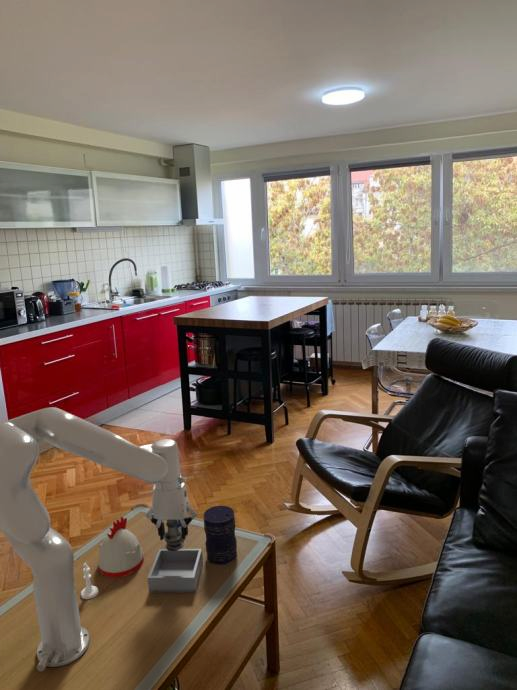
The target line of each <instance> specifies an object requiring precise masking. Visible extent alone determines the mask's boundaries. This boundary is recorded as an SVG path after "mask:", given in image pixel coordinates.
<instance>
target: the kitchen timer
mask: <svg viewBox="0 0 517 690" xmlns="http://www.w3.org/2000/svg"><path fill="white" fill-rule="evenodd" d="M127 523H128V518H127V517H122V516H120V520H119V519H116V522H115V521H113V522H112V527H109V530H110V531H109V532H108V533H107V534H106V536H105V537H104V539H103V540H102V543H99V545H98V546H99V553H98V560H97V563H98V565H97V566H98V570H99V572H100V574H102V575H103V576H105V577H108V578H120V577H121V578H122V577H125V576H128V575H130V574H132V573H135V572H136V571H137V570H139V569H140V568H141V567H142V565H143V563H144V560H145V559H144V551H143V548H142V546H141V544H140V542H139V540H138V539H137V537H136V536H135V534H133V532H131V531H130V530H128V529H126V527H127Z"/></svg>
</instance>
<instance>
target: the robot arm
mask: <svg viewBox="0 0 517 690" xmlns="http://www.w3.org/2000/svg"><path fill="white" fill-rule="evenodd" d="M42 442H46V443H48V444H49V445H51V446H53V447H55V448H57V449H59V450H62V451H64V452H67V453H70V454H72V455H75V456H78V457H81V458H83V459H85V460H88V461H90V462H93V463H95V464H98V465H100V466H101V467H102V466H103V467H105V468H108V469H110V470H114V471H117V472H119V473H122V474H125V476H126V475H127V476H128V477H132V478H134V479H137V480H139V481H142V482H145V483H147V484H150V485H151V484H152V485H153V488H152V499H151V500H152V501H151V502H152V504H151V505H152V506H150V508H149V510H147V512H146V513H145V515H144V516H145V518H146V519H148V520H149V521H150V522H151V523H152V524H153V525H155V527H156V528H157V534H158V536H159V538H160V541H163V540H164V537H163V536H164V534H165V533H166V530H165V529H166V528H165V523H164V522H163V520H166V521H167V520H176V519H179V520H180V522H181V524H182V527H181V532H182V539H183V540H182V541H184V540H186V538H187V536H188V535H189V526H188V525H189V524H191V522H192V521H193V520H194V519H195V518H196V517H197V515H198V511H196V510H195V509H194V508H193V507H192V506H191V505H190V502H189V496H188V491H187V488H186V485H185V483H186V482H187V478H186V477H183V476H182V474H181V467H180V455H179V446H178V443H177V441H175V440H174V439H171V438H164V439H159V440H156V441H154V443H150V444H146V445H145V444H144V445H136V444H134V443H132V442H131V441H128V440H127V439H125V438H124V437H121V436H119V435H118V434H117V433H114V432H112V431H110V430H108V429H106V428H103V427H101V426H98V425H97V424H94V423H92V422H90V421H87V420H85V419H84V418H81V417H78V416H76V415H74V414H72V413H70V412H67V411H65V410H63V409H60V408H58V407H54V406H52V407H51V406H50V407H45V408H41V409H37V410H34V411H31V412H29V413H26V414H23V415H20V416H17V417H13V418H11V419H7V420H5V421H2V422H0V531H1V533H2V534H3V535H4V537H5V538H6V540H7V542H8V543H9V544H10V546H11V548H12V549H13V550H14V551H15V554H17V555H18V556H19V558H20V559H21V560H22V561H23V562H24V563H25V565H26V566H28V567H29V569H30V570H31V572H32V575H33V584H32V585H33V586H32V591H33V598H34V604H35V610H36V615H37V621H38V626H39V632H40V633H39V634H40V639H41V641H40V642H39V643H38V646H37V648H36V656H37V661H38V664H37V666H36V669H37V671H38V672H43V671H45V669H46V668H47V667H49V668H51V667H52V668H57V667H62V666H66V665H69V664H71V663H72V662H74V661H75V660H78V659H79V658H80V657H81V656H82V655H83V654H85V652H86V650H87V649H88V647H89V645H90V633H89V631H88V630H87V629H86V628H85V627H83V626H82V623H81V618H80V617H81V616H80V609H79V604H78V603H79V602H78V597H77V590H76V582H75V575H74V572H75V571H74V566H75V565H74V564H75V554H74V550H73V548H72V546H71V544H70V543H69V542H68V540H67V539H66V538H65V537H64V536H62V535H61V534H60V533H59V532H58V531H56V530H55V529H53V528H52V527H51V516H50V514H49V512H48V509H47V508H46V506H45V504H43V502H42V501H41V499H40V497H39V496H38V494H37V492H36V491H35V489H34V486H33V485H32V482H31V479H30V477H31V473H32V472H33V471H32V470H33V469H34V467H35V465H36V463H37V462H38V459H39V454H40V448H39V444H40V443H42ZM188 514H190V515H188Z"/></svg>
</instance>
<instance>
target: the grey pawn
mask: <svg viewBox="0 0 517 690" xmlns="http://www.w3.org/2000/svg"><path fill="white" fill-rule="evenodd" d="M165 526H166V527H167V531H165V534H164V536H163V537H164V538H163V540H164V541H165V543H166V545H165V549H167V550H169V551H176V550H179V549H183V547H184V542H183V540H182V532H181V530H179V529H178V521H177V519H176V520H166V523H165ZM181 540H182V541H181Z"/></svg>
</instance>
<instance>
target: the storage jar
mask: <svg viewBox="0 0 517 690" xmlns="http://www.w3.org/2000/svg"><path fill="white" fill-rule="evenodd" d="M203 527H204V529H203V530H204V533H205V538H206V540H205V551H206V559H207V561H208V562H209V563H210V564H211V565H214V566H215V565H216V566H224V565H225V566H226V565H229V564H231V563H233V562H234V561H236V559H237V557H238V551H237V549H238V546H237V545H238V543H237V537H236V518H235V510H234V509H233V508H232V507H231V506H227V505H215V506H212V507H209V508H207V509H206V510H205V511H204V513H203Z"/></svg>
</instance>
